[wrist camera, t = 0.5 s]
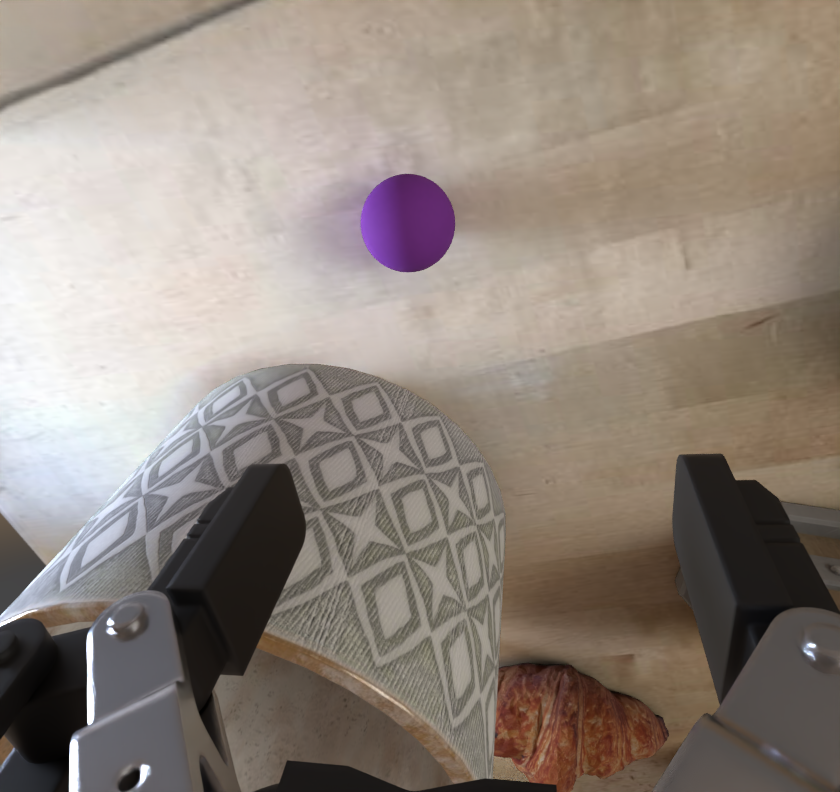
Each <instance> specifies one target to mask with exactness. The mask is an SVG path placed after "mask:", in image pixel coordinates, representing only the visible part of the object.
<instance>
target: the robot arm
mask: <svg viewBox="0 0 840 792" xmlns="http://www.w3.org/2000/svg"><path fill="white" fill-rule="evenodd" d="M672 524H673V537H674V543H675V548H676V552H677V555H678V559H679V562H680V566H681V569H682V573H683V577H684V580H685V584H686V587H687V591H688V594H689V598H690V601H691V605H692V608H693V612H694V615H695V619H696V622H697V626H698V629H699V633H700V636H701V640H702V643H703V647H704V650H705V654H706V657H707V661H708V664H709V668H710V671H711V675H712V678H713V682H714V685H715V689H716V693H717V696H718V700H719V703H720V706H719V708H718V709H717V711H716V712H715V713H714V714H713V715H712V716H711V715H710V714H708V713H706V714H704V715H702V716H701V717H700V718H699V719H698V721H697V722H696V723H695V725H694V726H693V728H692V729H691V731H690V732H689V734H688V735H687V737H686V739H685V740H684V742H683V743H682V745H681V746H680V748H679V750H678V751H677V753H676V754H675V756H674V757H673V759H672V761H671V762H670V764H669V765H668V767H667V769H666V770H665V772H664V773H663V775H662V776H661V778H660V780H659V781H658V783H657V784H656V786H655V787H654V789H653V791H652V792H840V611H839V609H838V607H837V605H836V604H835V602H834V600H833V598H832V596H831V594H830V593H829V591H828V589H827V587H826V585H825V583H824V582H823V580H822V578H821V576H820V574H819V572H818V570H817V569H816V567H815V565H814V563H813V561H812V559H811V558H810V556H809V554H808V552H807V550H806V548H805V547H804V545H803V543H801V542H800V537H799V535H798V534H797V532H796V530H795V528H794V526H793V525H791V524H790V519H789V517H788V515H787V513H786V512H785V510H784V508H783V506H782V504H781V502H780V501H779V499H778V498H777V497H776V496H775V495H773V494H772V493H771V492H770V491H768V490H767V489H766V488H765V487H764V486H762V485H761V484H760V483H759V482H757V481H756V480H735V478H734V476H733V474H732V472H731V470H730V468H729V465H728V463H727V461H726V459H725V457H724V456H723V455H722V454H686V455H679V456H678V458H677V464H676V476H675V490H674V503H673V517H672ZM305 536H306V520H305V515H304V512H303V509H302V506H301V503H300V500H299V496H298V493H297V490H296V487H295V484H294V481H293V478H292V474H291V471H290V469H289V467H288V466H287V465H286V464H284V463H282V464H252V465H250V466H248V468H247V469H246V470H245V472H244V473H243V475H242V476H241V478H240V479H239V481H238V482H237V484H236V485H235V486H234V487H228V488H227V489H226V490H225V491H223V492H222V493H221V494H220V495H218V496H217V497H216V498H215V499H213V500H212V501H211V502H210V503H209V504H208V505H207V507H206V508H205V509H204V511H203V512H202V514H201V515H200V516H199V518H198V519H197V524H194V525H193V526H192V528H191V529H190V531H189V532H188V533H187V538H186V539H183V540H182V542H181V543H180V545H179V546H178V548H177V549H176V550H175V552H174V553H173V555H172V556H171V557H170V559H169V560H168V562H167V563H166V564H165V566H164V567H163V569H162V570H161V572H160V573H159V574H158V576H157V577H156V579H155V580H154V581H153V583H152V584H151V586H150V587H149V588H148V590H146V591H139V592H136V593H132V594H130V595H127V596H125V597H123V598H121V599H119V600H118V601H116V602H114V603H113V604H111V605H110V606H109V607H107V608H106V609H105V610H104V611H103V612H102V613H101V614H100V615H99V616H98V617H97V618H96V620H95V621H94V622H93V624H92V626H91V627H88V628H84V629H80V630H76V631H72V632H68V633H63V634H59V635H55V636H51V635H50V634H49V632H48V631H47V629H46V628H45V626H44V625H43V623H42V622H41V621H39V620H37V619H33V618H25V619H19V620H15V621H12V622H9V623H6V624H4V625H2V626H0V740H1V738H2V737H3V735H4V736H5V737H6V738H7V740H8V741H9V742H10V743H11V744H12V746H13V747H14V748H13V749H12V751H11V752H10V753H9V755H8V756H7V758H6V759H5V761H4V762H3V764H2V765H1V767H0V792H241V789H240V786H239V783H238V780H237V776H236V773H235V768H234V764H233V760H232V756H231V751H230V747H229V743H228V739H227V735H226V730H225V726H224V722H223V718H222V713H221V709H220V705H219V701H218V697H217V694H216V692H215V690H214V687H215V685H216V683H217V681H218V679H219V677H220V675H235V676H243V675H244V673H245V671H246V669H247V667H248V664H249V662H250V660H251V658H252V656H253V654H254V651H255V649H256V647H257V645H258V643H259V640H260V638H261V636H262V634H263V632H264V630H265V627H266V625H267V623H268V621H269V619H270V617H271V614H272V612H273V610H274V608H275V606H276V603H277V601H278V599H279V597H280V595H281V593H282V590H283V588H284V586H285V584H286V582H287V580H288V577H289V575H290V573H291V571H292V569H293V567H294V564H295V562H296V560H297V558H298V556H299V553H300V551H301V549H302V547H303V544H304V541H305ZM254 792H557V787H556V785H553V784H542V783H531V782H520V781H509V780H498V779H487V778H484V779H479V780H473V781H468V782H463V783H457V784H452V785H447V786H441V787H436V788H431V789H425V790H420V791H409V790H406V789H403V788H401V787H398V786H396V785H393V784H391V783H389V782H386V781H384V780H381V779H379V778H376V777H374V776H372V775H369V774H367V773H364V772H362V771H360V770H357V769H355V768H352V767H350V766H345V765H334V764H323V763H312V762H301V761H290V760H287V762H286V765H285V767H284V770H283V773H282V776H281V779H280V782H279V783H278V784H273V785H270V786H267V787H264V788H261V789H258V790H256V791H254Z"/></svg>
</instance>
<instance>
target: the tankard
mask: <svg viewBox="0 0 840 792" xmlns="http://www.w3.org/2000/svg"><path fill="white" fill-rule="evenodd" d="M781 504H782V506H783V508H784V510H785V512H786V513H787V515H788V517H789V519H790V524H791V525H793V526H794V528H795V530H796V532H797V534H798V535H799V537H800V542H801V543H803V545H804V547H805V548H806V550H807V552H808V554H809V556H810V558H811V559H812V561H813V563H814V565H815V567H816V569H817V570H818V572H819V574H820V576H821V578H822V580H823V582H824V583H825V585H826V587H827V589H828V591H829V593H830V594H831V596H832V598H833V600H834V602H835V604H836V605H837V607H838V609H839V611H840V510H834V509H827V508H820V507H813V506H806V505H800V504H793V503H786V502H781ZM675 582H676V586H677V590H678V594H679V595H680V596H681V597H682V598H683V599H684V600H685V602H686V603H687V604H688V605H689V606H690V607H691V608H692V605H691V601H690V598H689V594H688V591H687V587H686V584H685V580H684V577H683V573H682V569H681V567H680V569H679V572H678V574H677V576H676V579H675ZM692 610H693V608H692Z"/></svg>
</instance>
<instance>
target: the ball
mask: <svg viewBox="0 0 840 792" xmlns="http://www.w3.org/2000/svg"><path fill="white" fill-rule="evenodd" d="M361 231H362V236H363V239H364V242H365V244H366V246H367V248H368V250H369V251H370V253H371V254H372V255H373V256H374V258H375V259H376V260H378V261H379V262H380V263H381V264H383V265H384V266H386V267H388V268H390V269H393V270H396V271H400V272H416V271H421V270H424V269H426V268H428V267H430V266H432V265H433V264H435V263H436V262H438V261H439V260H440V259H441V258H442V257H443V256H444V254H445V253H446V251H447V250H448V248H449V246H450V244H451V242H452V239H453V236H454V231H455V216H454V211H453V208H452V205H451V202H450V200H449V198H448V197H447V195H446V194H445V192H444V191H443V190H442V189H441V188H440V187H439V186H438V185H437V184H436V183H434V182H433V181H431V180H429V179H427V178H425V177H422V176H419V175H414V174H401V175H396V176H393V177H390V178H388V179H386V180H384V181H383V182H381V183H380V184H379V185H377V186H376V187H375V188H374V189H373V191H372V192H371V193H370V195H369V196H368V198H367V200H366V201H365V204H364V206H363V210H362V215H361Z"/></svg>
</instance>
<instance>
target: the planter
mask: <svg viewBox="0 0 840 792" xmlns="http://www.w3.org/2000/svg"><path fill="white" fill-rule="evenodd" d="M282 463H284V464H286V465H287V466H288V467H289V469H290V471H291V474H292V478H293V481H294V484H295V487H296V490H297V493H298V496H299V500H300V503H301V506H302V509H303V512H304V515H305V520H306V536H305V541H304V544H303V547H302V549H301V551H300V553H299V556H298V558H297V560H296V562H295V564H294V567H293V569H292V571H291V573H290V575H289V577H288V580H287V582H286V584H285V586H284V588H283V590H282V593H281V595H280V597H279V599H278V601H277V603H276V606H275V608H274V610H273V612H272V614H271V617H270V619H269V621H268V623H267V625H266V627H265V630H264V632H263V634H262V636H261V638H260V640H259V643H258V645H257V647H256V649H255V651H254V654H253V656H252V658H251V660H250V662H249V664H248V667H247V669H246V671H245V673H244V675H243V676H235V675H220V677H219V679H218V681H217V683H216V685H215V687H214V690H215V692H216V694H217V697H218V701H219V705H220V709H221V713H222V718H223V722H224V726H225V730H226V735H227V739H228V743H229V747H230V751H231V756H232V760H233V764H234V768H235V773H236V776H237V780H238V783H239V786H240V789H241V792H254V791H256V790H258V789H261V788H264V787H267V786H270V785H273V784H278V783H279V782H280V779H281V776H282V773H283V770H284V767H285V765H286V762H287V760H290V761H301V762H312V763H323V764H334V765H345V766H350V767H352V768H355V769H357V770H360V771H362V772H364V773H367V774H369V775H372V776H374V777H376V778H379V779H381V780H384V781H386V782H389V783H391V784H393V785H396V786H398V787H401V788H403V789H406V790H409V791H420V790H425V789H431V788H436V787H441V786H447V785H452V784H457V783H463V782H468V781H473V780H479V779H484V778H487V779H493V761H494V742H495V724H496V705H497V686H498V668H499V649H500V631H501V612H502V593H503V575H504V556H505V537H506V522H505V509H504V505H503V500H502V496H501V491H500V488H499V486H498V484H497V482H496V479H495V477H494V475H493V472H492V470H491V468H490V466H489V465H488V463H487V461H486V460H485V458H484V457H483V455H482V454H481V452H480V451H479V449H478V448H477V446H476V445H475V444H474V443H473V442H472V441H471V439H470V438H469V437H468V436H467V435H466V434H465V433H464V432H463V431H462V430H461V428H460V427H459V426H458V425H457V424H456V423H454V422H453V421H452V420H451V419H450V418H448V417H447V416H446V415H445V414H443V413H442V412H441V411H440V410H439V409H437V408H436V407H435V406H434V405H432V404H430V403H429V402H427V401H425V400H424V399H422V398H420V397H419V396H417V395H415V394H414V393H412V392H411V391H409V390H407V389H405V388H402V387H400V386H398V385H396V384H393V383H391V382H389V381H387V380H384V379H382V378H380V377H376V376H373V375H370V374H366V373H363V372H359V371H356V370H352V369H348V368H341V367H334V366H327V365H321V364H287V365H281V366H274V367H268V368H262V369H259V370H255V371H252V372H249V373H246V374H243V375H240V376H237V377H235V378H233V379H232V380H230V381H228V382H226V383H224V384H223V385H221V386H219V387H217V388H215V389H214V390H213V391H212V392H210V393H209V394H208V395H207V396H206V397H205V398H203V399H202V400H201V401H200V402H199V403H198V404H197V405H196V406H195V407H194V408H193V409H192V410H191V411H190V412H189V413H188V414H187V415H186V416H185V418H184V419H183V420H182V421H181V422H180V423H179V424H178V425H177V426H176V427H175V428H174V429H173V430H172V432H171V433H170V434H169V435H168V436H167V437H166V438H165V439H164V440H163V441H162V442H161V443H160V444H159V446H158V447H157V448H156V449H155V450H154V451H153V452H152V453H151V454H150V455H149V456H148V457H147V458H146V460H145V461H144V462H143V463H142V464H141V465H140V466H139V467H138V468H137V469H136V470H135V471H134V472H133V474H132V475H131V476H130V477H129V478H128V479H127V480H126V481H125V482H124V483H123V484H122V485H121V487H120V488H119V489H118V490H117V491H116V492H115V493H114V494H113V495H112V496H111V497H110V498H109V499H108V501H107V502H106V503H105V504H104V505H103V506H102V507H101V508H100V509H99V510H98V511H97V512H96V513H95V515H94V516H93V517H92V518H91V519H90V520H89V521H88V522H87V523H86V524H85V525H84V526H83V527H82V529H81V530H80V531H79V532H78V533H77V534H76V535H75V536H74V537H73V538H72V539H71V540H70V541H69V543H68V544H67V545H66V546H65V547H64V548H63V549H62V550H61V551H60V552H59V553H58V554H57V555H56V557H55V558H54V559H53V560H52V561H51V562H50V563H49V564H48V565H47V566H46V567H45V569H43V571H42V572H41V573H40V574H39V575H38V576H37V577H36V578H35V579H34V580H33V581H32V582H31V583H30V585H29V586H28V587H27V588H26V589H25V590H24V591H23V592H22V593H21V594H20V595H19V596H18V598H17V599H16V600H15V601H14V602H13V603H12V604H11V605H10V606H9V607H8V608H7V609H6V610H5V612H4V613H3V614H2V615H1V616H0V626H2V625H4V624H6V623H9V622H12V621H15V620H19V619H25V618H33V619H37V620H39V621H41V622H42V623H43V625H44V626H45V628H46V629H47V631H48V632H49V634H50V635H51V636H55V635H59V634H63V633H68V632H72V631H76V630H80V629H84V628H88V627H91V626H92V624H93V622H94V621H95V620H96V618H97V617H98V616H99V615H100V614H101V613H102V612H103V611H104V610H105V609H106V608H107V607H109V606H110V605H111V604H113V603H114V602H116V601H118V600H119V599H121V598H123V597H125V596H127V595H130V594H132V593H136V592H139V591H146V590H148V588H149V587H150V586H151V584H152V583H153V581H154V580H155V579H156V577H157V576H158V574H159V573H160V572H161V570H162V569H163V567H164V566H165V564H166V563H167V562H168V560H169V559H170V557H171V556H172V555H173V553H174V552H175V550H176V549H177V548H178V546H179V545H180V543H181V542H182V540H183V539H186V538H187V533H188V532H189V531H190V529H191V528H192V526H193V525H194V524H197V519H198V518H199V516H200V515H201V514H202V512H203V511H204V509H205V508H206V507H207V505H208V504H209V503H210V502H211V501H212V500H213V499H215V498H216V497H217V496H218V495H220V494H221V493H222V492H223V491H225V490H226V489H227V488H228V487H234V486H235V485H236V484H237V482H238V481H239V479H240V478H241V476H242V475H243V473H244V472H245V470H246V469H247V468H248V466H250V465H252V464H282ZM13 748H14V747H13V746H12V744H11V743H10V742H9V741H8V740H7V738H6V737H5V736H4V735H3V737H2V738H1V740H0V767H1V765H2V764H3V762H4V761H5V759H6V758H7V756H8V755H9V753H10V752H11V751H12V749H13Z"/></svg>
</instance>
